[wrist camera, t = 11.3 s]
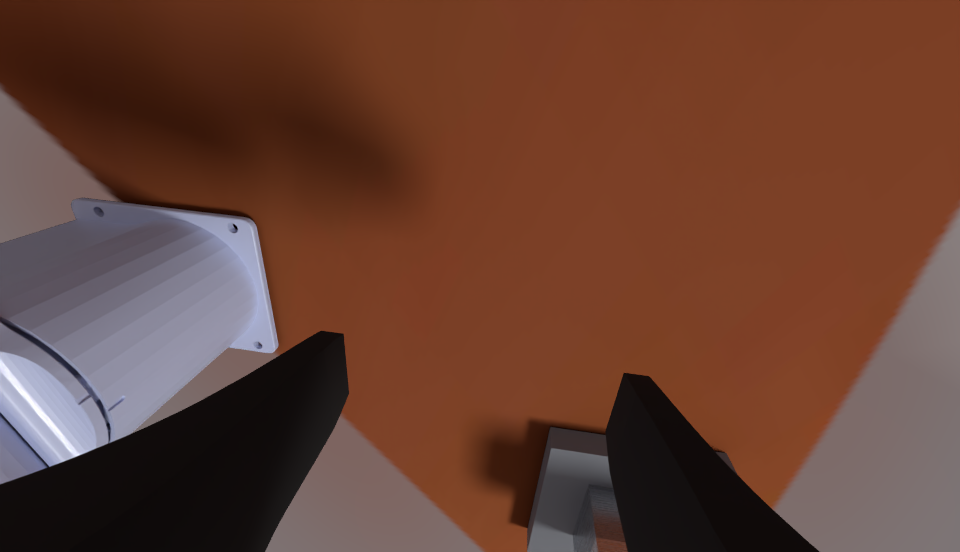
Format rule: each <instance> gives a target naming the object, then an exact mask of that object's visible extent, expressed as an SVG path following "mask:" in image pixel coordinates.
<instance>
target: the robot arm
mask: <svg viewBox="0 0 960 552" xmlns="http://www.w3.org/2000/svg"><path fill="white" fill-rule="evenodd" d="M71 207H72V210H73V213H74V215H75V218H76V220H74V221H70V222H68V223H64V224H61V225H58V226H55V227H51V228H48V229H46V230H42V231H39V232H36V233H33V234H29V235H26V236H23V237H20V238H16V239H13V240H10V241H7V242H4V243H0V552H265V550H266V548H267V546H268V544H269V542H270V540H271V537H272V536H273V534H274V532H275V530H276V528H277V526H278V524H279V522H280V520H281V519H282V517H283V515H284V513H285V511H286V510H287V508H288V506H289V505H290V503H291V501H292V499H293V498H294V496H295V494H296V492H297V491H298V489H299V488H300V486H301V484H302V483H303V481H304V479H305V477H306V476H307V474H308V472H309V470H310V469H311V467H312V466H313V464H314V462H315V461H316V459H317V457H318V455H319V453H320V452H321V450H322V448H323V447H324V445H325V443H326V441H327V439H328V438H329V436H330V435H331V433H332V431H333V429H334V427H335V425H336V423H337V420H338V418H339V416H340V414H341V411H342V409H343V407H344V404H345V402H346V399H347V397H348V395H349V388H348V377H347V367H346V356H345V345H344V334H341V333H334V332H326V331H320V332H318V333H316V334H314V335H313V336H311V337H309V338H307V339H306V340H304V341H302V342H301V343H299V344H298V345H296V346H294V347H293V348H291V349H289V350H288V351H286V352H285V353H283V354H281V355H280V356H278V357H276V358H275V359H273V360H271V361H270V362H268V363H266V364H265V365H263V366H262V367H260V368H258V369H256V370H255V371H253V372H251V373H250V374H248V375H246V376H245V377H243V378H241V379H239V380H238V381H236V382H234V383H232V384H230V385H228V386H227V387H225V388H223V389H221V390H219V391H218V392H216V393H214V394H212V395H211V396H208V397H207V398H205V399H203V400H201V401H199V402H197V403H196V404H194V405H192V406H190V407H188V408H186V409H184V410H182V411H180V412H178V413H176V414H174V415H171V416H169V417H167V418H165V419H163V420H161V421H159V422H156V423H154V424H152V425H150V426H148V427H146V428H144V429H141V430H139V431H137V432H135V433H132V432H133V431H134V430H135V429H137V427H139V426H140V425H141V424H142V423H143V422H144V421H146V420H147V419H148V418H149V417H150V416H151V415H152V414H153V413H155V412H156V411H157V410H158V409H159V408H160V407H161V406H162V405H164V404H165V403H166V402H167V401H168V400H169V399H170V398H171V397H173V395H175V394H176V393H177V392H178V391H179V390H180V389H181V388H183V387H184V386H185V385H186V384H187V383H188V382H189V381H190V380H191V379H193V378H194V377H195V376H196V375H197V374H198V373H199V372H201V371H202V370H203V369H204V368H205V367H206V366H207V365H208V364H210V363H211V362H212V361H213V360H214V359H215V358H216V357H217V356H219V354H221V353H222V352H223V351H224V350H225V349H226V348H228V347H230V348H237V349H244V350H251V351H257V352H265V353H272V352H274V351H275V350H276V349H277V348H278V339H277V334H276V329H275V323H274V318H273V312H272V307H271V302H270V296H269V291H268V286H267V280H266V275H265V269H264V264H263V259H262V253H261V248H260V243H259V237H258V232H257V227H256V225H255V223H254V222H253V221H252V220H251V219H249V218H246V217H239V216H231V215H223V214H215V213H206V212H198V211H190V210H181V209H173V208H165V207H156V206H148V205H140V204H131V203H123V202H115V201H106V200H98V199H89V198H79V199H75V200H73V201H72V203H71ZM102 210H103V211H102ZM233 224H235V225H236V226H237V228H238V230H236V229H235V228H234V226H233ZM259 342H260V343H261V344H260V343H259ZM131 433H132V434H131ZM606 443H607V454H608V462H609V471H610V476H611V481H612V485H613V490H614V494H615V499H616V503H617V508H618V512H619V516H620V521H621V525H622V530H623V534H624V538H625V543H626V547H627V551H628V552H819V551H818V550H817V549H816V548H814V547H813V546H812V545H811V544H810V543H809V542H808V541H807V540H805V539H804V538H803V537H802V536H801V535H800V534H799V533H798V532H797V531H795V530H794V529H793V528H792V527H791V526H790V525H789V524H788V523H786V522H785V520H783V519H782V518H781V517H780V516H779V515H778V514H777V513H776V512H775V511H774V510H772V509H771V508H770V507H769V506H768V505H767V504H766V503H765V502H764V501H763V500H762V499H761V498H760V497H759V496H758V495H757V494H756V493H755V492H754V491H753V490H752V489H751V488H750V487H749V486H748V485H747V484H746V483H745V482H744V481H743V480H742V479H741V478H740V477H739V476H738V475H737V474H736V473H735V472H734V471H733V470H732V469H731V468H730V467H729V466H728V465H727V464H726V463H725V462H724V461H723V460H722V459H721V457H720V456H719V455H718V454H717V453H716V452H715V451H714V450H713V449H712V448H711V447H710V446H709V445H708V443H707V442H706V441H705V440H704V439H703V438H702V437H701V436H700V434H699V433H698V432H697V431H696V430H695V429H694V428H693V427H692V425H691V424H690V423H689V422H688V421H687V420H686V419H685V417H684V416H683V415H682V414H681V413H680V412H679V410H678V409H677V408H676V407H675V406H674V405H673V403H672V402H671V401H670V400H669V399H668V398H667V396H666V395H665V394H664V393H663V392H662V390H661V389H660V388H659V387H658V386H657V385H656V384H655V382H654V381H653V380H652V379H651V378H650V377H649V376H643V375H636V374H629V373H624V374H623V377H622V381H621V384H620V387H619V390H618V393H617V397H616V400H615V403H614V406H613V409H612V412H611V416H610V419H609V422H608V425H607V428H606Z"/></svg>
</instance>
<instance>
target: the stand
mask: <svg viewBox="0 0 960 552" xmlns="http://www.w3.org/2000/svg"><path fill="white" fill-rule="evenodd" d="M716 453H717V454H718V455H719V456H720V457H721V459H722V460H723V461H724V462H725V463H726V464H727V465H728V466H729V467H730V468H731V469H732V470H733V471H734V472H735V473H736V471H735V469H734V467H733V465H732V463H731V461H730V459H729V457H728V455H727V454H726V453H721V452H716ZM736 474H737V473H736ZM589 484H591V485H597V486H604V487H610V488H613V485H612V481H611V476H610V471H609V462H608V454H607V443H606V435H601V434H595V433H588V432H581V431H575V430H568V429H561V428H555V427H550V430H549V435H548V439H547V444H546V448H545V453H544V457H543V462H542V466H541V471H540V475H539V480H538V484H537V489H536V493H535V498H534V502H533V507H532V511H531V516H530V520H529V524H528V530H527V552H574V545H573V533H574V530H575V526H576V523H577V520H578V517H579V514H580V510H581V507H582V504H583V501H584V498H585V494H586V491H587V488H588V485H589Z"/></svg>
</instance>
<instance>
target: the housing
mask: <svg viewBox="0 0 960 552" xmlns="http://www.w3.org/2000/svg"><path fill="white" fill-rule="evenodd" d="M573 545H574V552H628V551H627V547H626V543H625V538H624V534H623V530H622V525H621V521H620V516H619V512H618V508H617V503H616V499H615V494H614V490H613V488H610V487H604V486H597V485H591V484H589V485H588V488H587V491H586V494H585V498H584V501H583V504H582V507H581V510H580V514H579V517H578V520H577V523H576V526H575V530H574V533H573Z"/></svg>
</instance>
